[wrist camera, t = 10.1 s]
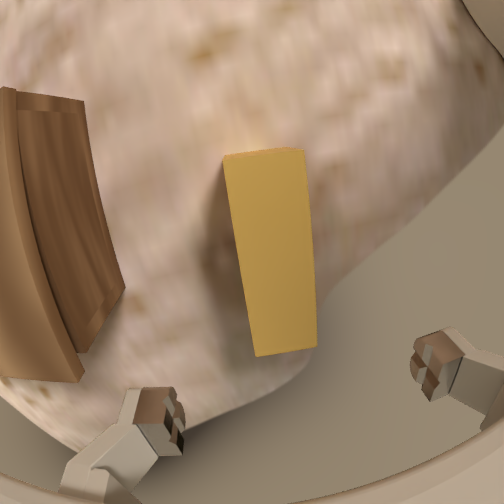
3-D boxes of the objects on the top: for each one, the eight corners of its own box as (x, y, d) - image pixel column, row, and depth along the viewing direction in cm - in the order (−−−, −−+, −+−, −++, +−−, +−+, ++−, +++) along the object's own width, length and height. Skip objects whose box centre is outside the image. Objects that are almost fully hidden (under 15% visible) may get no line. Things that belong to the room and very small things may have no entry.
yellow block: (286, 146, 19) (303, 149, 14) (301, 306, 23) (317, 346, 18) (224, 155, 19) (222, 160, 14) (250, 315, 23) (255, 357, 18)
